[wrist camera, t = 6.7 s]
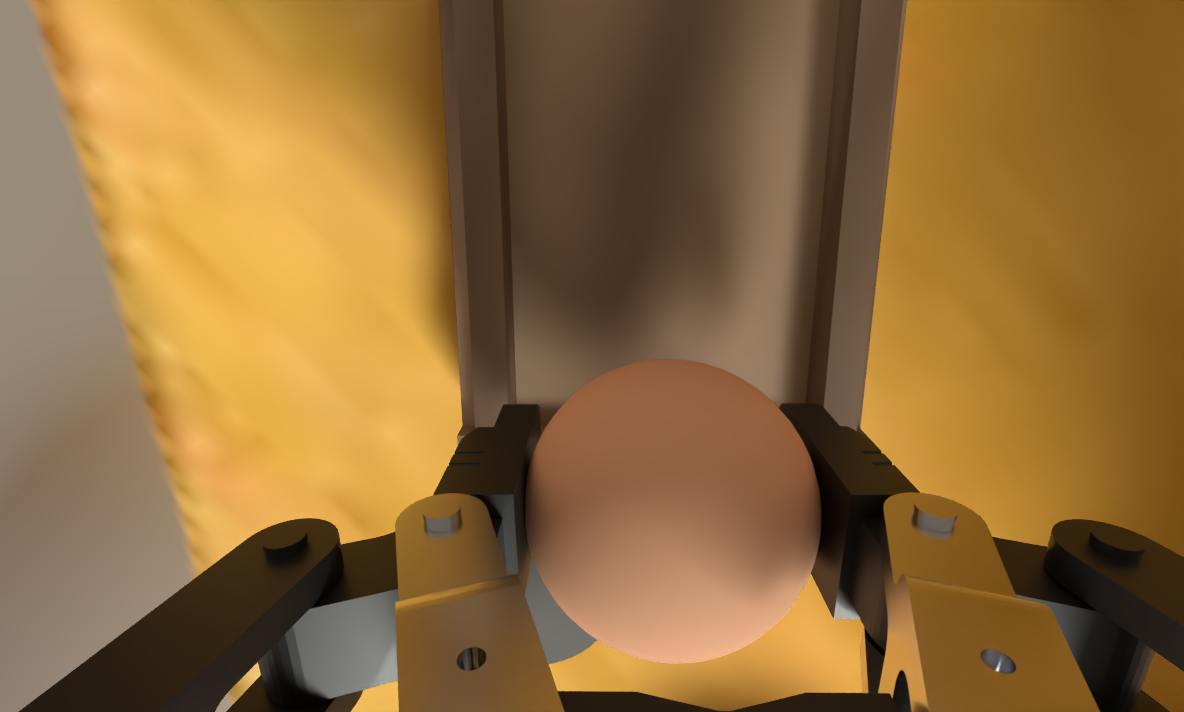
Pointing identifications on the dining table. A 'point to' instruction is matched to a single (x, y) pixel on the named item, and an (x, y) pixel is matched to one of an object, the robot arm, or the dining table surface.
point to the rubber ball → (672, 511)
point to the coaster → (553, 622)
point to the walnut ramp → (666, 192)
